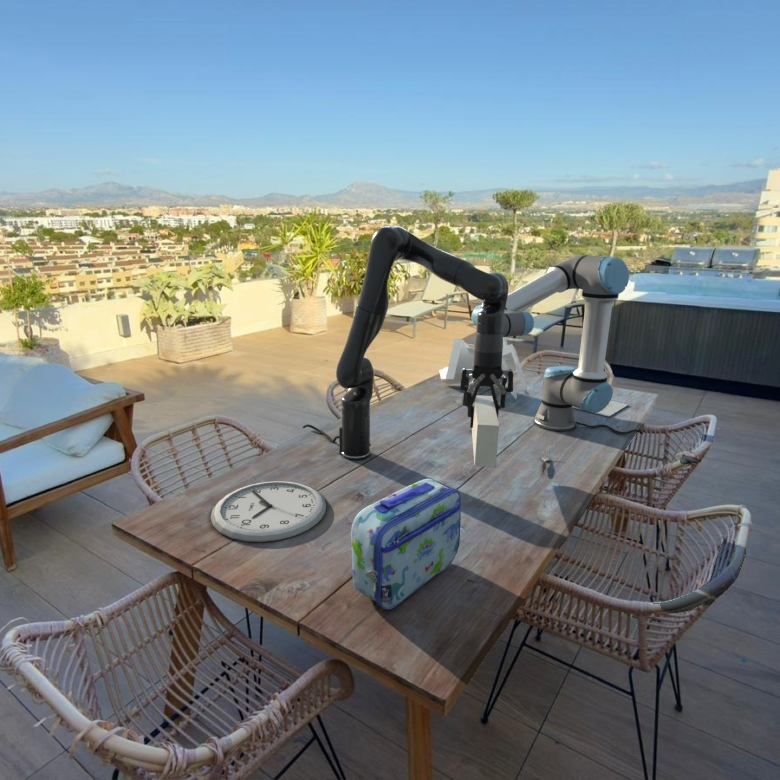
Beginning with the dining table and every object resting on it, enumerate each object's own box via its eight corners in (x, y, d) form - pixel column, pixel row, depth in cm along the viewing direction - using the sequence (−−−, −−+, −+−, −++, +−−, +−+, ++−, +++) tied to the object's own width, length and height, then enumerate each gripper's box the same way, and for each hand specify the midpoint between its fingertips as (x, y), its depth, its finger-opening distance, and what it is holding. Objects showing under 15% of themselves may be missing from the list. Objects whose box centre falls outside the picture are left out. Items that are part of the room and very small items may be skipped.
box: (471, 431, 173) (474, 395, 170) (489, 432, 173) (492, 396, 169) (474, 466, 148) (477, 424, 144) (495, 467, 147) (499, 425, 144)
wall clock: (324, 533, 126) (196, 538, 124) (324, 539, 127) (197, 544, 124) (327, 477, 155) (224, 479, 152) (327, 482, 155) (224, 484, 153)
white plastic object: (461, 429, 252) (437, 405, 227) (444, 352, 274) (420, 323, 250) (535, 404, 240) (518, 377, 215) (510, 326, 262) (492, 293, 237)
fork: (538, 474, 162) (538, 468, 162) (542, 454, 177) (542, 449, 176) (546, 475, 162) (547, 470, 161) (550, 455, 176) (550, 450, 175)
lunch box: (380, 623, 100) (381, 528, 94) (344, 596, 108) (343, 505, 101) (464, 565, 118) (470, 482, 112) (428, 545, 125) (432, 466, 119)
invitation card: (608, 416, 214) (573, 407, 224) (608, 416, 214) (573, 408, 224) (628, 404, 229) (594, 396, 238) (628, 405, 229) (594, 397, 238)
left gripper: (462, 350, 139) (459, 408, 143) (516, 352, 137) (512, 410, 142) (461, 345, 146) (459, 400, 150) (513, 346, 144) (510, 402, 149)
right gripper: (456, 358, 160) (452, 429, 167) (519, 361, 158) (512, 432, 164) (456, 353, 167) (452, 421, 174) (516, 355, 165) (510, 424, 172)
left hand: (485, 405), depth 146 cm, fingers open, 8 cm apart
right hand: (481, 426), depth 169 cm, fingers closed on box, 6 cm apart
